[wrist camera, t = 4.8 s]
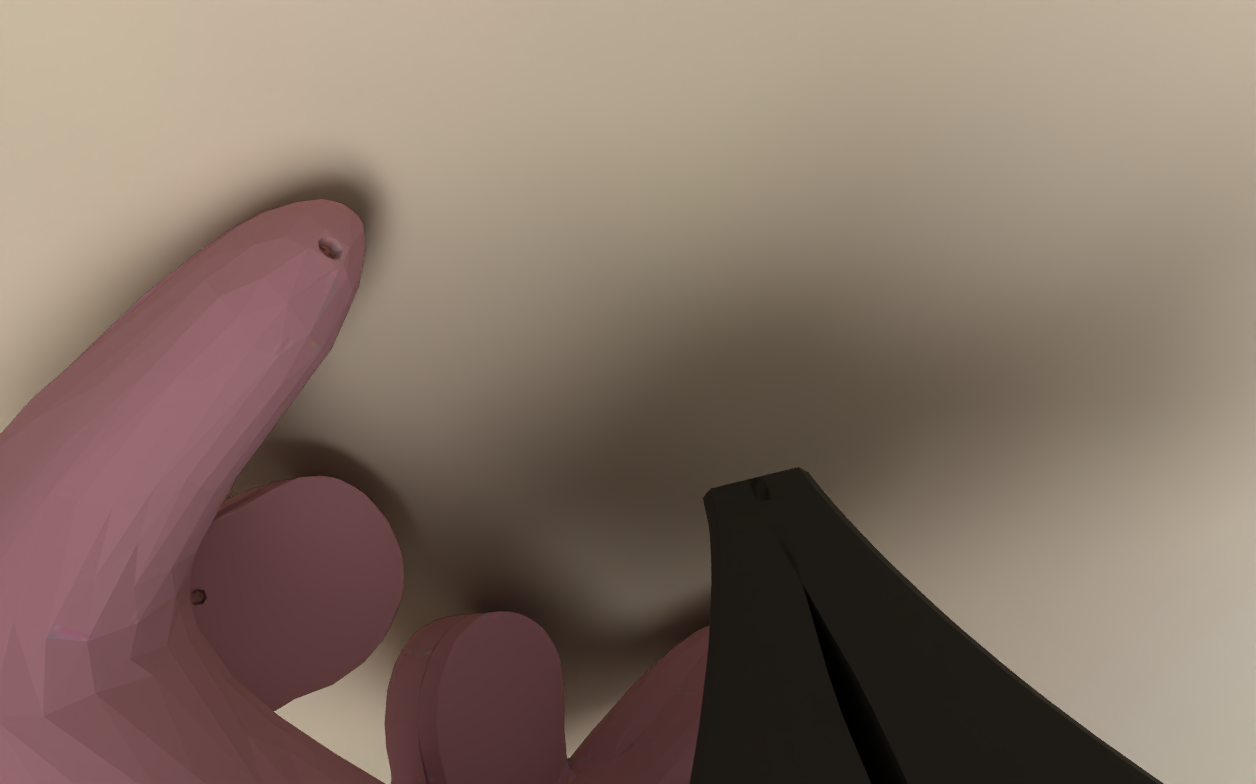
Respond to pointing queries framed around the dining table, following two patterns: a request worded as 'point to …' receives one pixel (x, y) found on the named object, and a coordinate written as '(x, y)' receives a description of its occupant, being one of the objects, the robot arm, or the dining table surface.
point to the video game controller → (255, 566)
